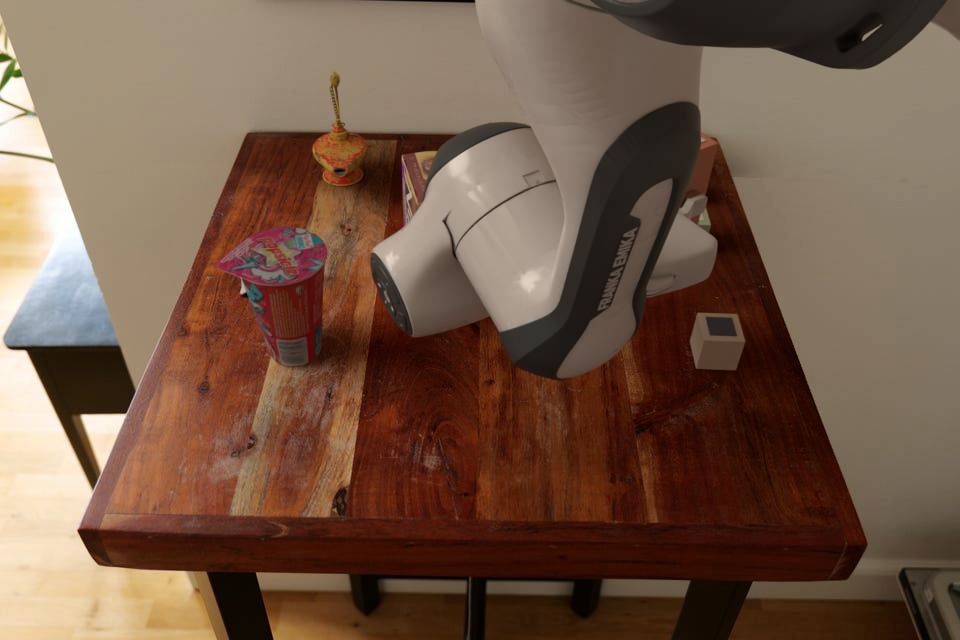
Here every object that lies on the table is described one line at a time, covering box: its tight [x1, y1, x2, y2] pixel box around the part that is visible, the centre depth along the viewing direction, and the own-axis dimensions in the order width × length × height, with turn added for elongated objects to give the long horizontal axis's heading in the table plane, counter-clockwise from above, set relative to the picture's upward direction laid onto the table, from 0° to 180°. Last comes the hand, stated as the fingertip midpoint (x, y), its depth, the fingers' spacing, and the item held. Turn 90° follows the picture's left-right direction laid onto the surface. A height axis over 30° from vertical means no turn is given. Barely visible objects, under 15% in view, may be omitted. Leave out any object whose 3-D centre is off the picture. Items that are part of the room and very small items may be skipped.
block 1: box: [698, 207, 712, 234], centre depth 99 cm, size 4×4×4 cm
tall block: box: [686, 131, 719, 225], centre depth 77 cm, size 4×4×12 cm
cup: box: [215, 226, 328, 368], centre depth 81 cm, size 9×8×12 cm
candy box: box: [401, 150, 438, 228], centre depth 87 cm, size 9×4×15 cm, turn 13°
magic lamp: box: [312, 70, 369, 187], centre depth 104 cm, size 7×18×11 cm, turn 8°
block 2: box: [689, 312, 746, 371], centre depth 85 cm, size 4×4×4 cm
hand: (677, 183), depth 77 cm, fingers closed on tall block, 4 cm apart
